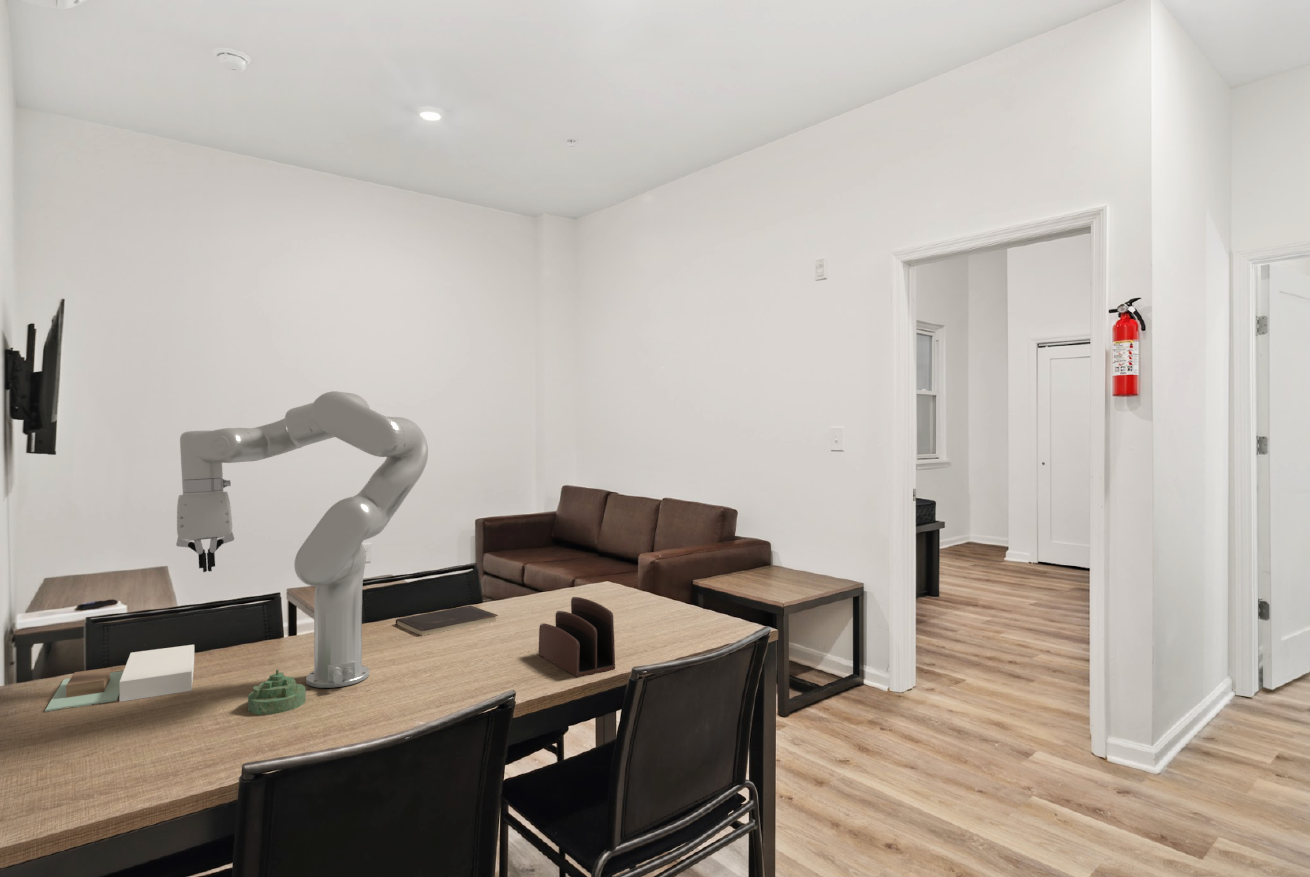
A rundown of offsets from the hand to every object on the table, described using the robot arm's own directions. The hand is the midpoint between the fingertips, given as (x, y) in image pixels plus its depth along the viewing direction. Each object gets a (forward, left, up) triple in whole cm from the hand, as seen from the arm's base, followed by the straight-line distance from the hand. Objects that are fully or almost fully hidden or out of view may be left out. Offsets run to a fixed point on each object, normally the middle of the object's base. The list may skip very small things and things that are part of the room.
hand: (207, 570), depth 154 cm
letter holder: (-32, -74, -24) cm, 84 cm away
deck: (+4, +9, -24) cm, 25 cm away
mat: (+4, +21, -24) cm, 32 cm away
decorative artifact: (-25, -12, -24) cm, 36 cm away
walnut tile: (+4, +21, -22) cm, 30 cm away
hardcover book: (+19, -57, -24) cm, 65 cm away
